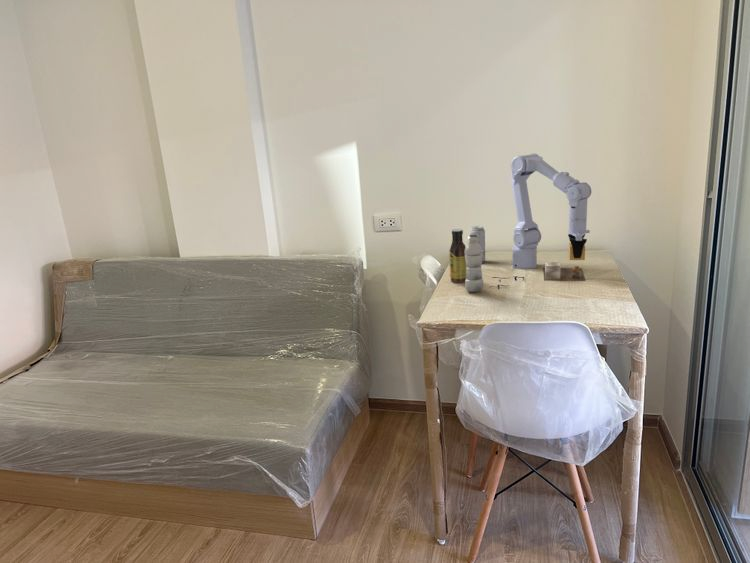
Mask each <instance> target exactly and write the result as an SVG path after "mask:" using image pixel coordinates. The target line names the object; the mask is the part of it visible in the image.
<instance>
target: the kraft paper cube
mask: <svg viewBox="0 0 750 563" xmlns="http://www.w3.org/2000/svg"><path fill="white" fill-rule="evenodd" d="M568 259H569V261H585V260H586V244H585V245H584V247H583V250H582V254H581V258H574V255H573V248H572V244H571V242H569V243H568Z"/></svg>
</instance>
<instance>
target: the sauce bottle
mask: <svg viewBox="0 0 750 563" xmlns="http://www.w3.org/2000/svg"><path fill="white" fill-rule="evenodd" d="M451 235H452V236H451V237H452V238H451V239H452V240H451V245H450V248H449V252H448V254H449V277H450V281H451V282H452V283H465V280H466V259H465V253H464V251H465V248H466V245H465V243H464V241H463V239H464V238H463V235H464V230H463V229H462V228H454V229H452V230H451Z"/></svg>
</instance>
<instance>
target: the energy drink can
mask: <svg viewBox="0 0 750 563" xmlns="http://www.w3.org/2000/svg"><path fill="white" fill-rule="evenodd" d="M469 233H470V234H469V236H470V235H478V239H479V241H478V243H479V244H480V246H481V247H482V250H483V254H482V263H484V262H485V261H486V230H485V228H484V226H483V225H473V226H471V229H470V231H469Z"/></svg>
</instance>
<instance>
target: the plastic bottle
mask: <svg viewBox="0 0 750 563" xmlns="http://www.w3.org/2000/svg"><path fill="white" fill-rule="evenodd" d="M478 241H479V239H478V235H470V234H469V235H467V242H468V243H467V245H465V247H466V248H465V251H464V253H465V259H466V280H465V281H464V286H465V289H466V291H467V292H470V293H477V292H481V291H482V290H483V288H484V280H483V272H482V265H483V264H482V254H483V250H482V247H481V246H480V244H479V243H478Z"/></svg>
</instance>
